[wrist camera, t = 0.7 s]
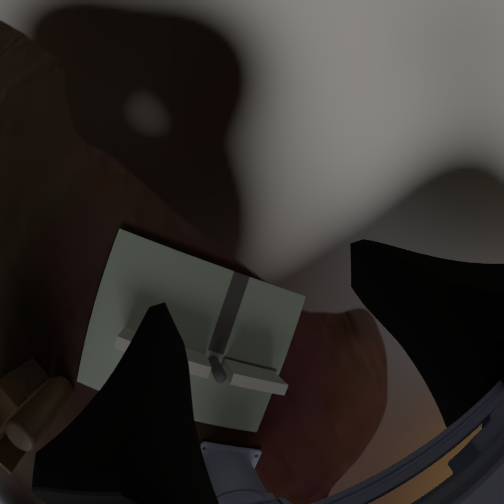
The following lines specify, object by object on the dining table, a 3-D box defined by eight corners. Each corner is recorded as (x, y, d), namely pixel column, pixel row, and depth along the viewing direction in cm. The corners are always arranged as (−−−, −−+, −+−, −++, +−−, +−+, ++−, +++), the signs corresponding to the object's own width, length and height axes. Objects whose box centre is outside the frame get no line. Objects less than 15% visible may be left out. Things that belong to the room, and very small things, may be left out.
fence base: (269, 379, 31) (285, 396, 26) (205, 363, 29) (212, 380, 24) (272, 370, 31) (289, 386, 26) (209, 354, 29) (216, 369, 24)
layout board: (254, 429, 31) (256, 432, 30) (78, 378, 26) (76, 381, 25) (303, 295, 33) (306, 296, 33) (120, 229, 29) (119, 228, 28)
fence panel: (206, 354, 29) (211, 367, 25) (202, 364, 29) (207, 378, 24) (125, 326, 27) (117, 336, 23) (122, 337, 27) (113, 348, 22)
